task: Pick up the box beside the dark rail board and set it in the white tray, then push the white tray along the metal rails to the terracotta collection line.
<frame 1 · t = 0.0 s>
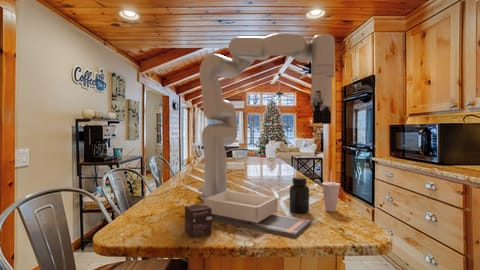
hand: (322, 123, 95), 31 cm above the kitchen island, tool pointing down, fingers open, 9 cm apart
box: (198, 233, 79), on the kitchen island
white tray: (240, 206, 93), point 4 cm above the kitchen island, slide at 0.0 cm
rail board: (253, 220, 90), on the kitchen island
smoothie: (330, 210, 102), on the kitchen island
supplement bottle: (299, 212, 100), on the kitchen island
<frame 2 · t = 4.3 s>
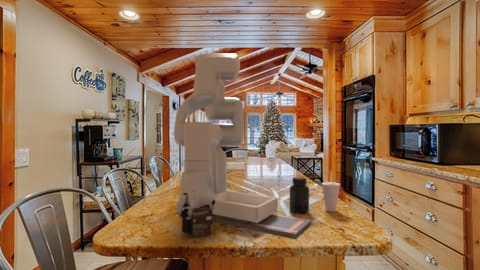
hand: (197, 228, 79), 1 cm above the kitchen island, tool pointing down, fingers closed on box, 8 cm apart
box: (197, 233, 79), on the kitchen island, touching gripper
everything else where it was.
when the fingers open (6 cm above the kitchen island, at t = 10.5 s): box drops 1 cm, resting on white tray.
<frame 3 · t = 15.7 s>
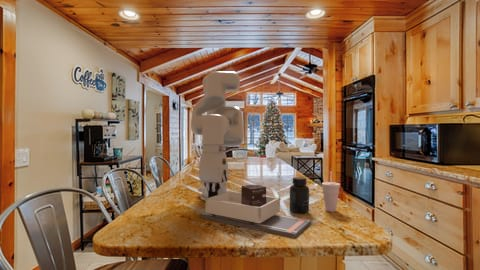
hand: (212, 202, 98), 4 cm above the kitchen island, tool pointing down, fingers closed
box: (253, 209, 91), point 3 cm above the kitchen island, touching white tray
white tray: (242, 206, 92), point 4 cm above the kitchen island, slide at 0.9 cm, touching box, gripper
everything else where it was.
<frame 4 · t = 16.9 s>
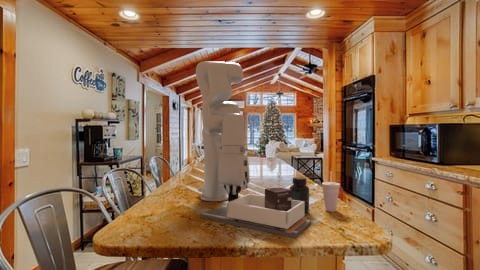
hand: (233, 205, 94), 4 cm above the kitchen island, tool pointing down, fingers closed
box: (277, 213, 86), point 3 cm above the kitchen island, touching white tray
white tray: (266, 210, 88), point 4 cm above the kitchen island, slide at 9.4 cm, touching box, gripper
everything else where it was.
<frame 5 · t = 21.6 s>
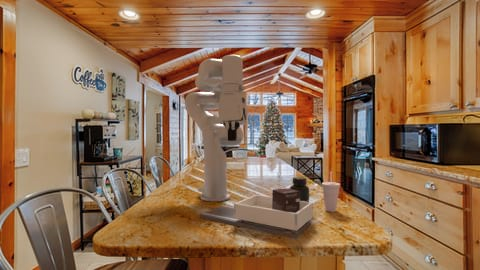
hand: (232, 140, 103), 25 cm above the kitchen island, tool pointing down, fingers closed
box: (285, 215, 85), point 3 cm above the kitchen island, touching white tray
white tray: (273, 211, 86), point 4 cm above the kitchen island, slide at 12.0 cm, touching box
everything else where it was.
at the end: white tray slide at 12.0 cm; box inside the target area (0.4 cm from its centre), point 3.3 cm above the kitchen island; box tilted 0° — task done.
